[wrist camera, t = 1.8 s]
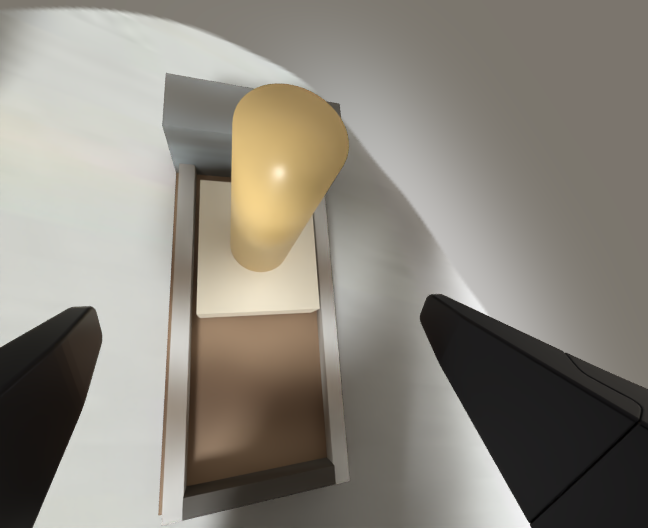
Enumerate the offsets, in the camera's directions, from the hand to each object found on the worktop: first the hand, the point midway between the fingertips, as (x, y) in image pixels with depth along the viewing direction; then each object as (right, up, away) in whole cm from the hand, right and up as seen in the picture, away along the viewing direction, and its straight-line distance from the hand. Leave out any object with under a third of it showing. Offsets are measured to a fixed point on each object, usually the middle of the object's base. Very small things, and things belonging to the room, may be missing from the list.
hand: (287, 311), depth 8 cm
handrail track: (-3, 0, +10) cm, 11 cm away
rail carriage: (-3, +2, +9) cm, 10 cm away
